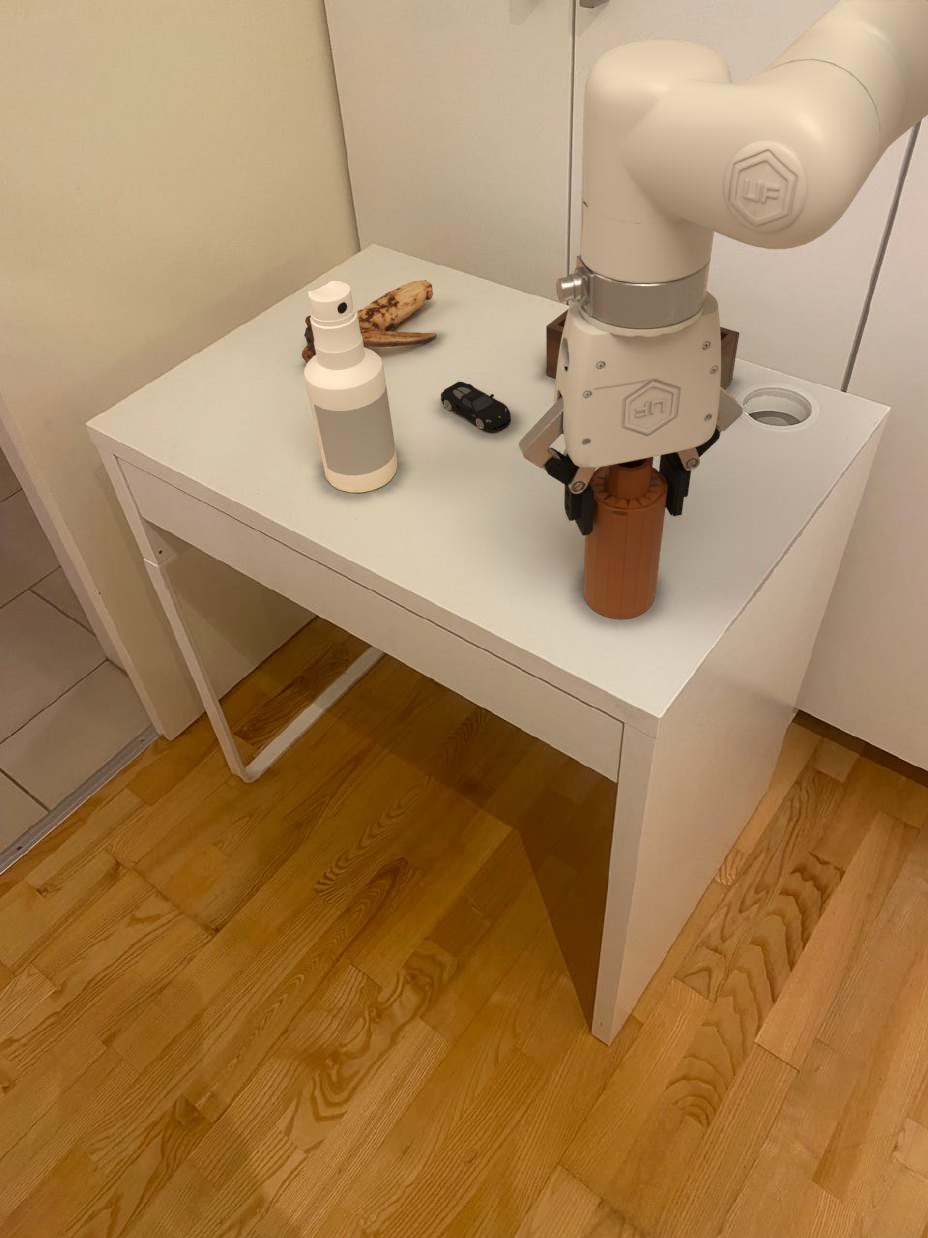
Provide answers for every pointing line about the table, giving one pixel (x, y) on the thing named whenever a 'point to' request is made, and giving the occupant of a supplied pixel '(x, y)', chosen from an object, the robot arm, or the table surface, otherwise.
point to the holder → (727, 349)
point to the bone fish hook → (386, 319)
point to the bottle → (624, 538)
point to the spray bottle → (348, 396)
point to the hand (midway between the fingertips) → (625, 511)
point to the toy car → (476, 406)
